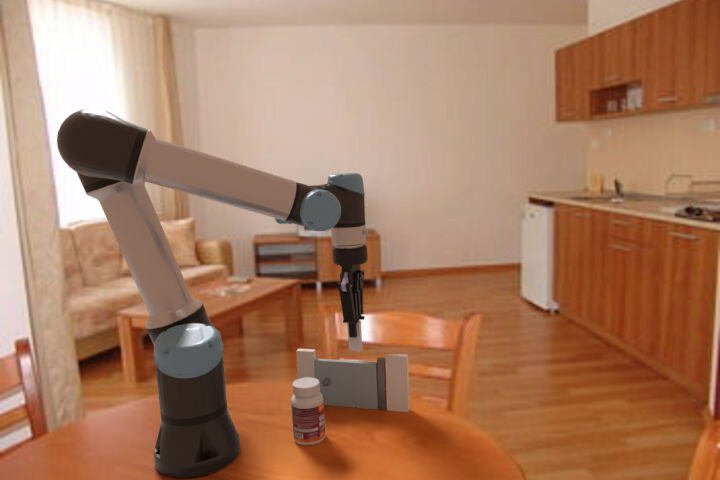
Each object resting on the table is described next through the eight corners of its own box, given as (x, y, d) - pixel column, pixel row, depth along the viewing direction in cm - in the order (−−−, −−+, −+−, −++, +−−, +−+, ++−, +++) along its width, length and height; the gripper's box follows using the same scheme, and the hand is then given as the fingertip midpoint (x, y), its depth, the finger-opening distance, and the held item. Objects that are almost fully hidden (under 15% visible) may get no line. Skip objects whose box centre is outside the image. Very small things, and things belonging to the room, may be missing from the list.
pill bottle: (327, 443, 106) (324, 386, 104) (294, 448, 105) (291, 391, 103) (323, 428, 112) (320, 374, 110) (291, 433, 111) (288, 378, 109)
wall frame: (299, 403, 124) (296, 350, 122) (301, 400, 126) (298, 348, 124) (408, 412, 118) (406, 357, 116) (409, 409, 119) (408, 354, 117)
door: (387, 407, 120) (386, 357, 119) (385, 412, 118) (383, 362, 116) (319, 401, 125) (317, 353, 123) (315, 406, 122) (312, 358, 120)
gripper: (358, 250, 115) (364, 361, 118) (373, 239, 127) (378, 340, 131) (323, 250, 117) (330, 359, 120) (341, 240, 129) (347, 339, 133)
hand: (355, 349), depth 126 cm, fingers closed
